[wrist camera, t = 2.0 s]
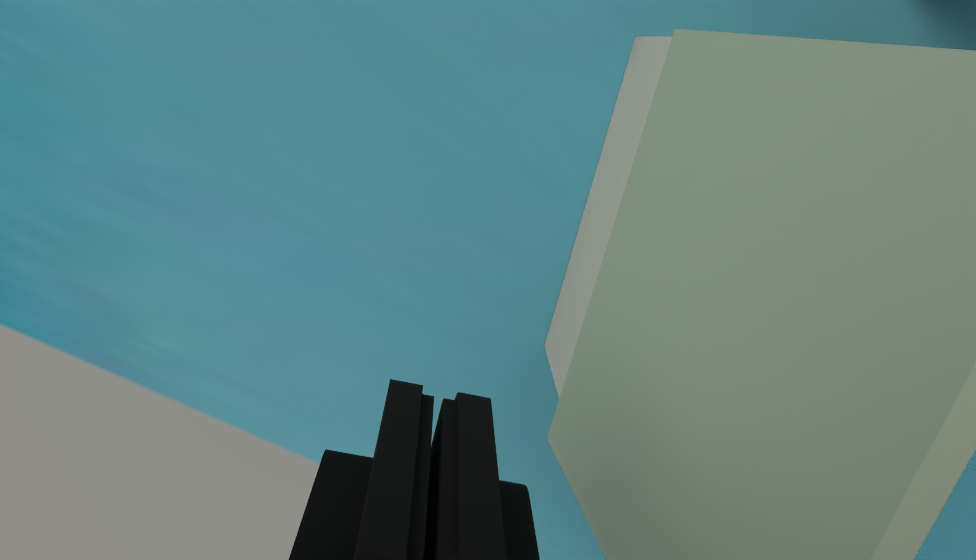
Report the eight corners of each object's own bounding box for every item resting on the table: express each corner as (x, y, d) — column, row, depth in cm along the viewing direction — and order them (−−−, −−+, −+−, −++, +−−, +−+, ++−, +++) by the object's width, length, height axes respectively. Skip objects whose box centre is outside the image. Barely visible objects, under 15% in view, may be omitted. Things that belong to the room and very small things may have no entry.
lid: (700, 36, 22) (674, 28, 22) (1183, 78, 10) (1135, 62, 9) (569, 440, 27) (546, 438, 27) (771, 813, 15) (733, 816, 15)
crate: (635, 36, 31) (702, 36, 22) (909, 108, 32) (1068, 134, 24) (544, 345, 36) (570, 440, 27) (784, 394, 38) (879, 498, 29)
